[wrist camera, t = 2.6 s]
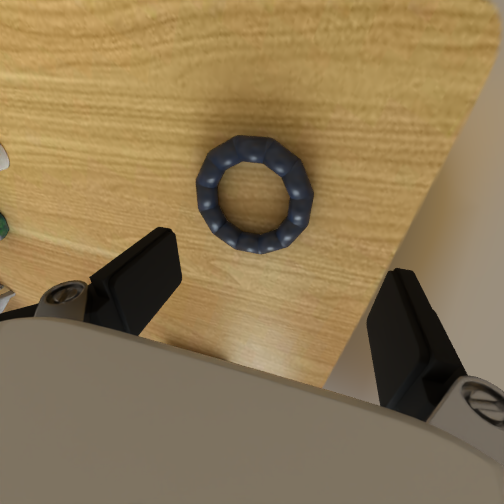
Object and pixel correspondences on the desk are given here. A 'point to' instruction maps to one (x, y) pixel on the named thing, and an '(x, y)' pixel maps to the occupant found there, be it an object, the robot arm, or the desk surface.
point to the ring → (278, 162)
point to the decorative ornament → (3, 227)
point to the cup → (3, 159)
